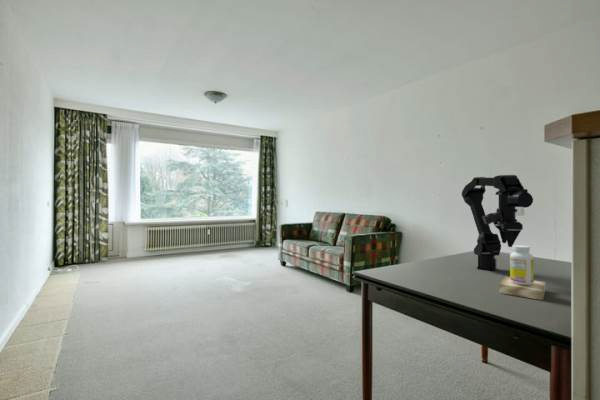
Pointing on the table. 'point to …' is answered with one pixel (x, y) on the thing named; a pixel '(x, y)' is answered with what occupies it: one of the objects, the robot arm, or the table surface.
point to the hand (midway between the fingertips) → (506, 244)
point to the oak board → (523, 289)
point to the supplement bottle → (521, 265)
